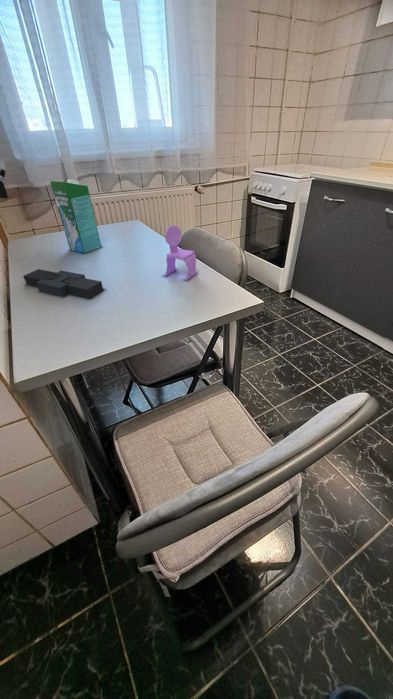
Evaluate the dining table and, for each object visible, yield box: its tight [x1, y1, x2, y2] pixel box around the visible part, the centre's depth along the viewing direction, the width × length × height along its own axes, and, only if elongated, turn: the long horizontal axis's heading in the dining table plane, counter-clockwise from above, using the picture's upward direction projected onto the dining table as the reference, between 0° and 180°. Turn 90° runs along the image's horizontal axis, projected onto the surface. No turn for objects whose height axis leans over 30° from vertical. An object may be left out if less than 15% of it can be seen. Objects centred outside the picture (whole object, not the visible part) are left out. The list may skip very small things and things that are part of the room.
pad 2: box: [63, 277, 104, 300], centre depth 88 cm, size 11×6×3 cm, turn 65°
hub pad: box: [36, 269, 86, 298], centre depth 91 cm, size 10×10×3 cm
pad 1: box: [22, 268, 59, 288], centre depth 94 cm, size 11×6×3 cm, turn 65°
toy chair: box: [164, 225, 197, 281], centre depth 92 cm, size 8×9×15 cm
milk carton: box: [49, 179, 102, 254], centre depth 114 cm, size 9×9×25 cm
